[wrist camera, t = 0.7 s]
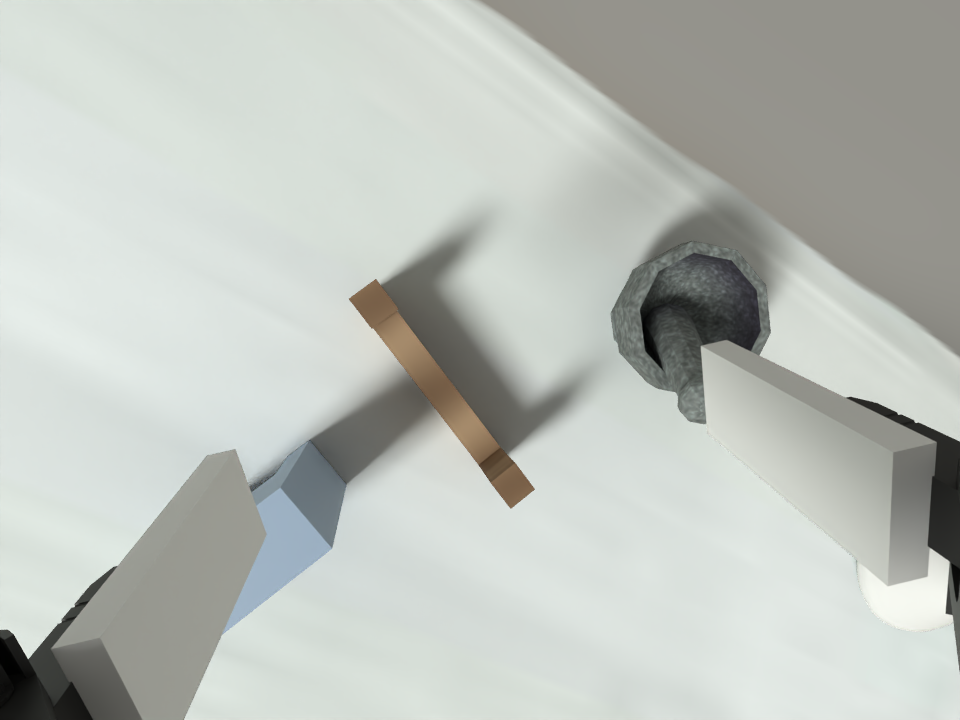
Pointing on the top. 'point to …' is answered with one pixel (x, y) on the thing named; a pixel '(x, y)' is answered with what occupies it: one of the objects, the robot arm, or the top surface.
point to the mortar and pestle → (688, 317)
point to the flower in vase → (910, 598)
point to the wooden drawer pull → (441, 392)
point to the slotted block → (292, 525)
